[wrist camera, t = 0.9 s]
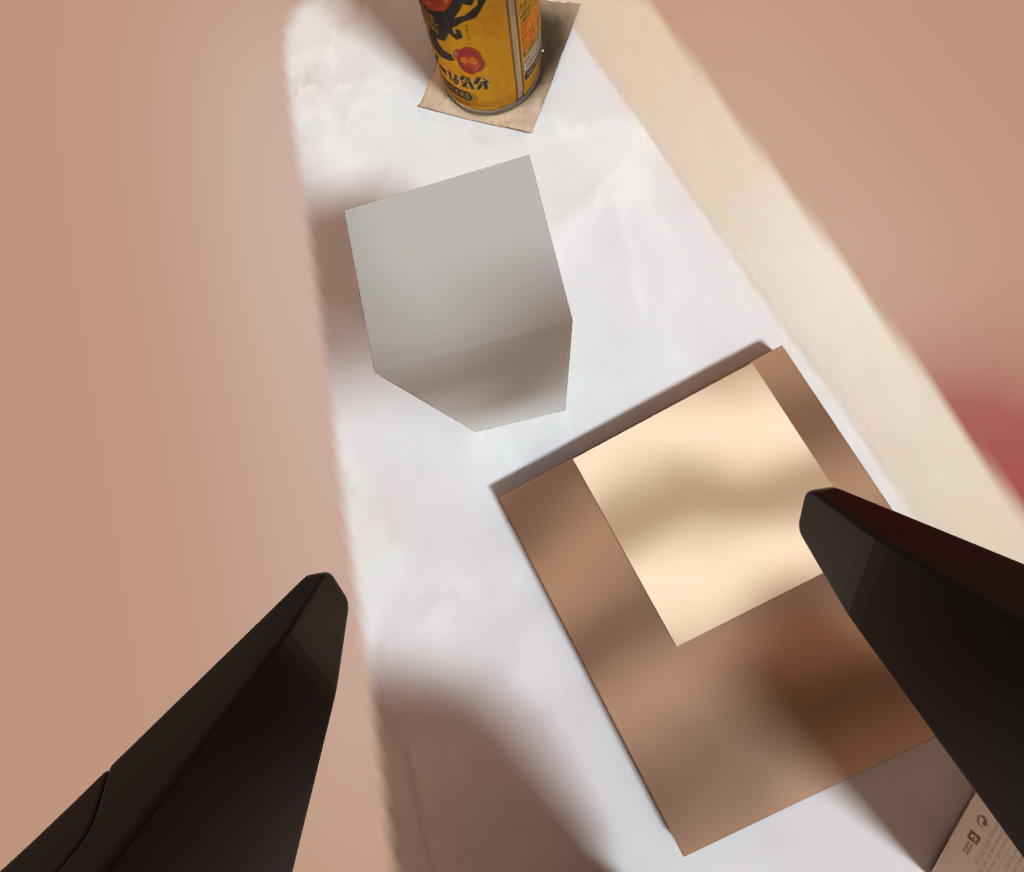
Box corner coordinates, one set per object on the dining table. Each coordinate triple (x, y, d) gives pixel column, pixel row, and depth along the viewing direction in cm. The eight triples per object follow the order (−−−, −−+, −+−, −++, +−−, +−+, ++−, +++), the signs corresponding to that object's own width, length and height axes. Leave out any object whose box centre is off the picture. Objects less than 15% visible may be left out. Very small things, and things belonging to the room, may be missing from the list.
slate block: (565, 410, 22) (572, 320, 10) (475, 431, 23) (375, 372, 10) (545, 331, 23) (529, 154, 10) (458, 354, 23) (343, 210, 11)
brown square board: (998, 688, 19) (1020, 698, 18) (678, 841, 19) (684, 858, 18) (773, 350, 21) (783, 344, 20) (500, 496, 22) (498, 497, 21)
